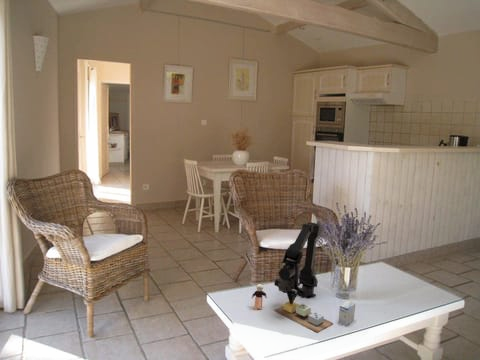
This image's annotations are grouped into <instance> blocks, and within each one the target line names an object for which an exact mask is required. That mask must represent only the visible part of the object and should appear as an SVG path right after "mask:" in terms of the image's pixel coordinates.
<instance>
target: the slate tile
mask: <svg viewBox="0 0 480 360" xmlns="http://www.w3.org/2000/svg"><path fill="white" fill-rule="evenodd" d="M311 313H312V314H310V315H308V322H310V323H312V324H314V325H319V324H321V323H323V321H324V319H325V318H324V315H322V314H321V313H318V312H316V311H314V312H311Z"/></svg>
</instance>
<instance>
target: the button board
mask: <svg viewBox="0 0 480 360" xmlns="http://www.w3.org/2000/svg"><path fill="white" fill-rule="evenodd" d="M273 311H274V312H276V313H277V314H280V315H281V316H283V317H285V318H287V319H289V320H291V321H293V322H294V323H297V324H299V325H301V326H303V327H305V328H307V329H309V330H311V331H313V332H315V333H317V334H319V333H320V332H321V331H325V330H326V329H328V328H329V327H331V326H333V325H334V322H331V321H330V320H327V319H326V318H324V321H323V323H321V324H319V325H314V324H312V323H310V322H308V315H310V314H312V313H313V312H311V313H310V314H308V315H306V316H302V315H300V314H298V313H296V311H295V312H293V313H290V312H288V311H286V310H284V305H282V306H280V307H278V308H275V309H274V310H273Z"/></svg>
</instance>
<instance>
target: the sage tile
mask: <svg viewBox="0 0 480 360" xmlns="http://www.w3.org/2000/svg"><path fill="white" fill-rule="evenodd" d="M311 311H312V307H311V306H310V305H307V304H305V303H300V304H298V306H296V313H298V314H300V315H302V316H306V315H308V314H310V313H312V312H311Z"/></svg>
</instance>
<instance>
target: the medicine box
mask: <svg viewBox="0 0 480 360" xmlns="http://www.w3.org/2000/svg"><path fill="white" fill-rule="evenodd" d="M355 312H356V303H355V302H353V301H349V300H346V301H345V302H343V303H342V304H341V305H340V306H339V311H338V320H337V321H338V324H340V325H342V326H345V327H348V325H350V324H351V323H352V322H353V321H354V319H355Z"/></svg>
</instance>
